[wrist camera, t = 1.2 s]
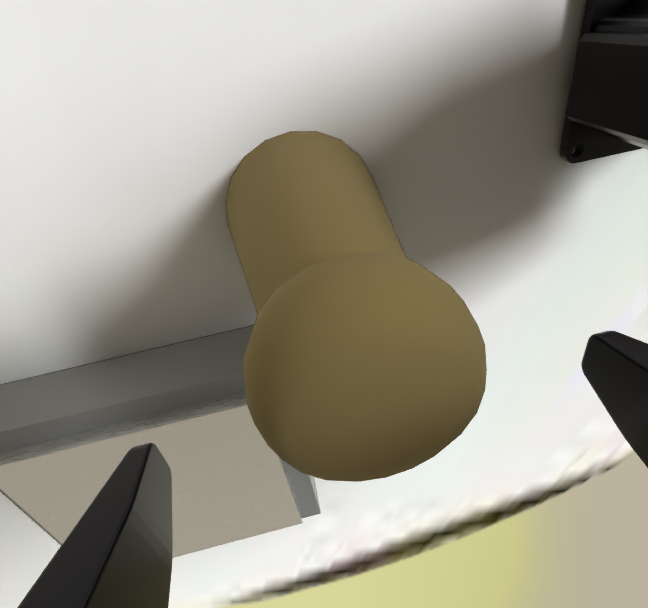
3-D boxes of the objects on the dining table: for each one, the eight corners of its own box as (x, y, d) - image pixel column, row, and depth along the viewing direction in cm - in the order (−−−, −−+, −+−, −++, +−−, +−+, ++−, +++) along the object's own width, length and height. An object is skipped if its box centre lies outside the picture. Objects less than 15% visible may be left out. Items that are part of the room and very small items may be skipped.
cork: (330, 293, 19) (417, 533, 10) (202, 245, 17) (172, 507, 8) (404, 174, 17) (603, 359, 8) (265, 98, 14) (326, 239, 5)
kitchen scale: (269, 321, 19) (277, 379, 16) (313, 472, 27) (324, 531, 24) (-17, 388, 19) (-64, 462, 16) (109, 524, 26) (93, 593, 23)
